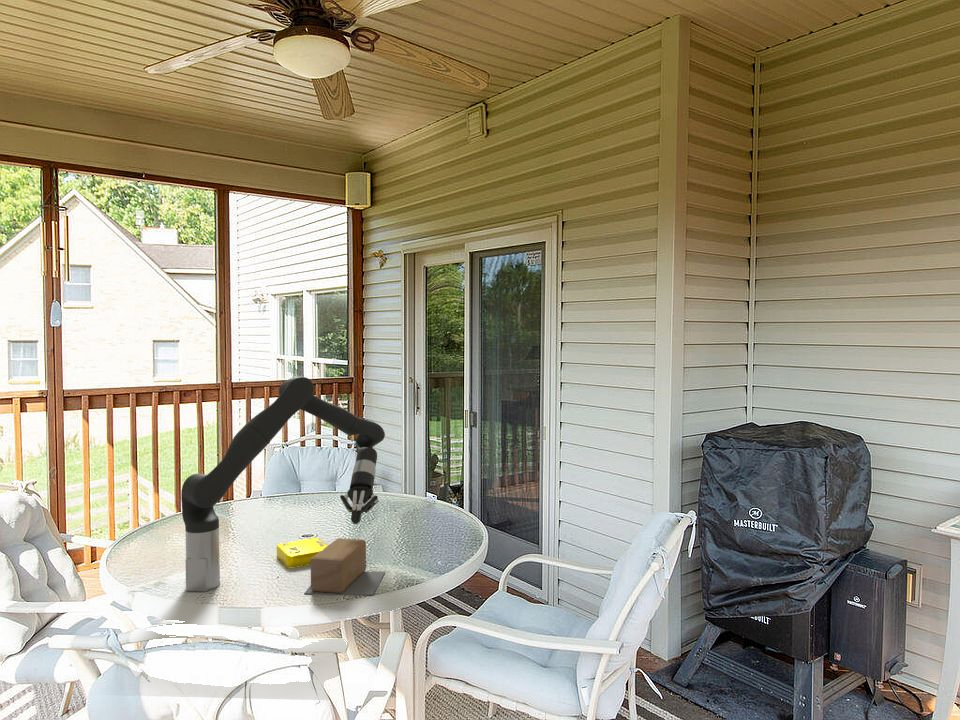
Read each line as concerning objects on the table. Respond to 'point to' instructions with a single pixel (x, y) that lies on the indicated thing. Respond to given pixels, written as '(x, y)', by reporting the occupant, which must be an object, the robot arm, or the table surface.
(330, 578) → the wooden block
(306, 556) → the yellow labelled tile
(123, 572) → the table surface
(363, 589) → the mat
